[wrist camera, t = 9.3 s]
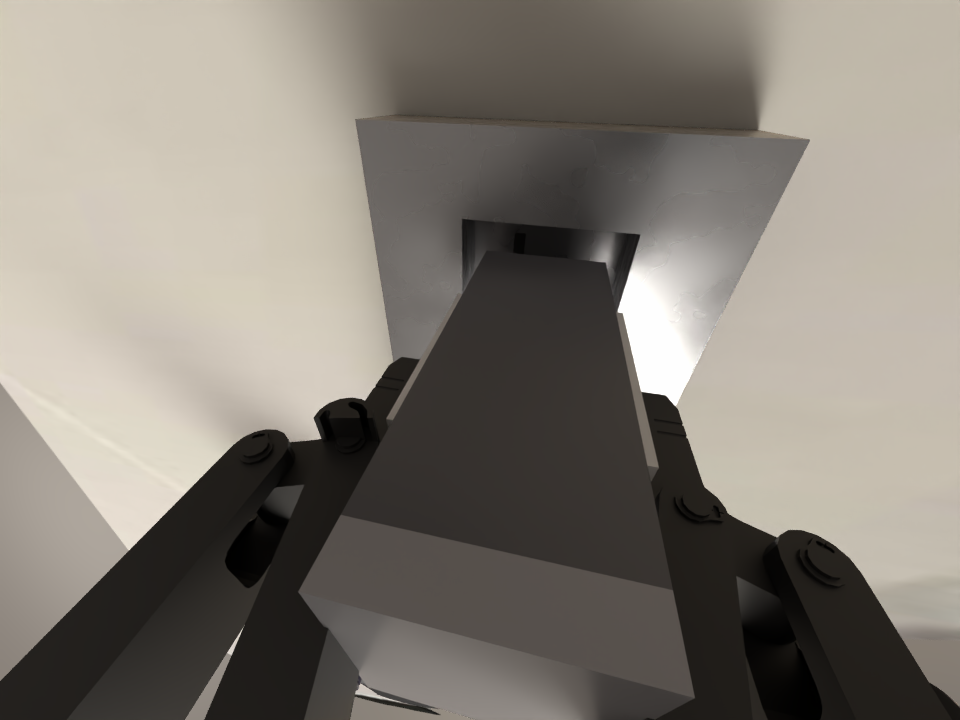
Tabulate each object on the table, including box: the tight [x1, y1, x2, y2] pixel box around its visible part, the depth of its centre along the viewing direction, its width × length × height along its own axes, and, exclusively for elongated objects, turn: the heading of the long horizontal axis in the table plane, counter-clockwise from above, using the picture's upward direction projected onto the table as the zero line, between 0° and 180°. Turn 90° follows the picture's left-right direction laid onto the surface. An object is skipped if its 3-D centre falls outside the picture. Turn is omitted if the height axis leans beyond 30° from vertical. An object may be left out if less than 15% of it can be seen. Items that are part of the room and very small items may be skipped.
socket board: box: [355, 115, 810, 406], centre depth 20 cm, size 14×26×4 cm, turn 178°
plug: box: [298, 251, 695, 720], centre depth 10 cm, size 4×5×12 cm
